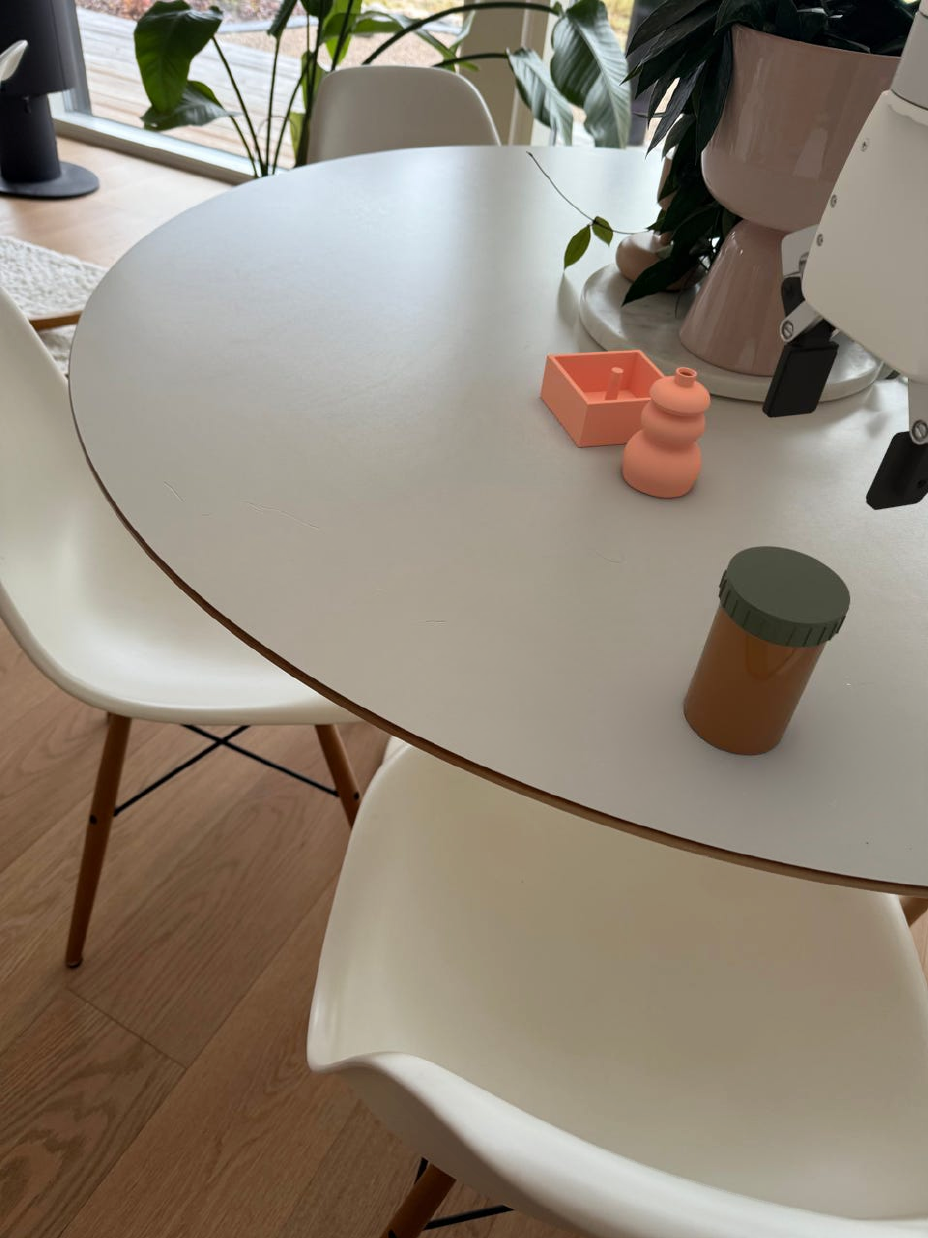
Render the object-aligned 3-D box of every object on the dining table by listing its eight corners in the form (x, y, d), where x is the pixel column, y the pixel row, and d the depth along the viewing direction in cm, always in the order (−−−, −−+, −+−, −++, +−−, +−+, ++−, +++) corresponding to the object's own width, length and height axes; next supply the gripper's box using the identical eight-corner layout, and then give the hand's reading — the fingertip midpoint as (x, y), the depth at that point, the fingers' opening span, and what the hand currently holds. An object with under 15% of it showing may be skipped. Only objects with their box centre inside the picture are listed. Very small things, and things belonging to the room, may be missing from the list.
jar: (793, 707, 65) (852, 580, 58) (769, 770, 61) (829, 641, 54) (700, 668, 67) (747, 541, 60) (670, 727, 63) (716, 596, 56)
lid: (851, 598, 59) (862, 574, 58) (825, 665, 55) (837, 641, 53) (736, 555, 62) (745, 531, 60) (702, 616, 57) (711, 591, 55)
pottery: (539, 396, 94) (558, 294, 87) (630, 390, 97) (654, 291, 90) (622, 505, 81) (650, 396, 75) (723, 494, 84) (758, 388, 78)
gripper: (1248, 153, 36) (1014, 546, 47) (918, 31, 47) (795, 370, 59) (1101, 153, 33) (891, 569, 44) (789, 24, 45) (687, 380, 56)
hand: (837, 454), depth 52 cm, fingers open, 8 cm apart
